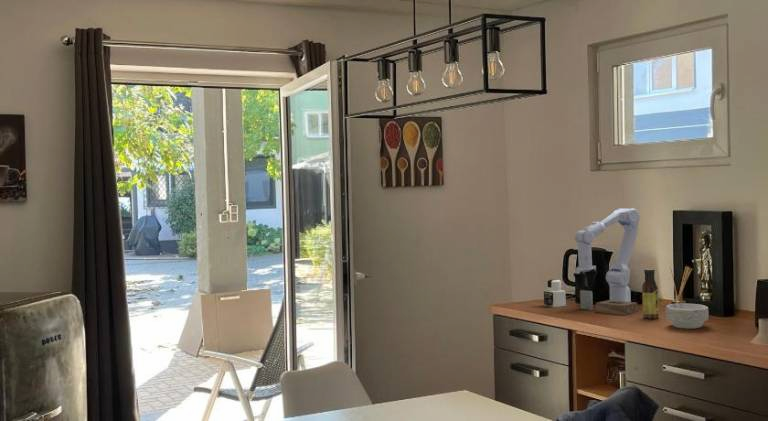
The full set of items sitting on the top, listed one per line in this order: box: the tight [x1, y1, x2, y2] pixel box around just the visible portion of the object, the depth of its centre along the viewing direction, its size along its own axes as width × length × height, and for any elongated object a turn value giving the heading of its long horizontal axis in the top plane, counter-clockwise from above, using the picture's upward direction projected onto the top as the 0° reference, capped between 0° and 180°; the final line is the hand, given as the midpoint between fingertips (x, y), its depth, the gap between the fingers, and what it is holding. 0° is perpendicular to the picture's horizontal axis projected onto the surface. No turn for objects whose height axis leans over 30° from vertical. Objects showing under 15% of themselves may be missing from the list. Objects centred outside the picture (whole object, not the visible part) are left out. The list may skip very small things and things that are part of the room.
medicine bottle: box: [543, 278, 567, 308], centre depth 381 cm, size 7×7×12 cm
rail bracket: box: [579, 290, 594, 311], centre depth 369 cm, size 2×5×8 cm, turn 43°
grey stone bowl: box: [665, 303, 709, 330], centre depth 318 cm, size 15×15×8 cm
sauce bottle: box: [641, 268, 660, 319], centre depth 340 cm, size 6×6×20 cm
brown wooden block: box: [595, 299, 638, 316], centre depth 358 cm, size 10×14×4 cm
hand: (586, 288), depth 368 cm, fingers open, 7 cm apart
